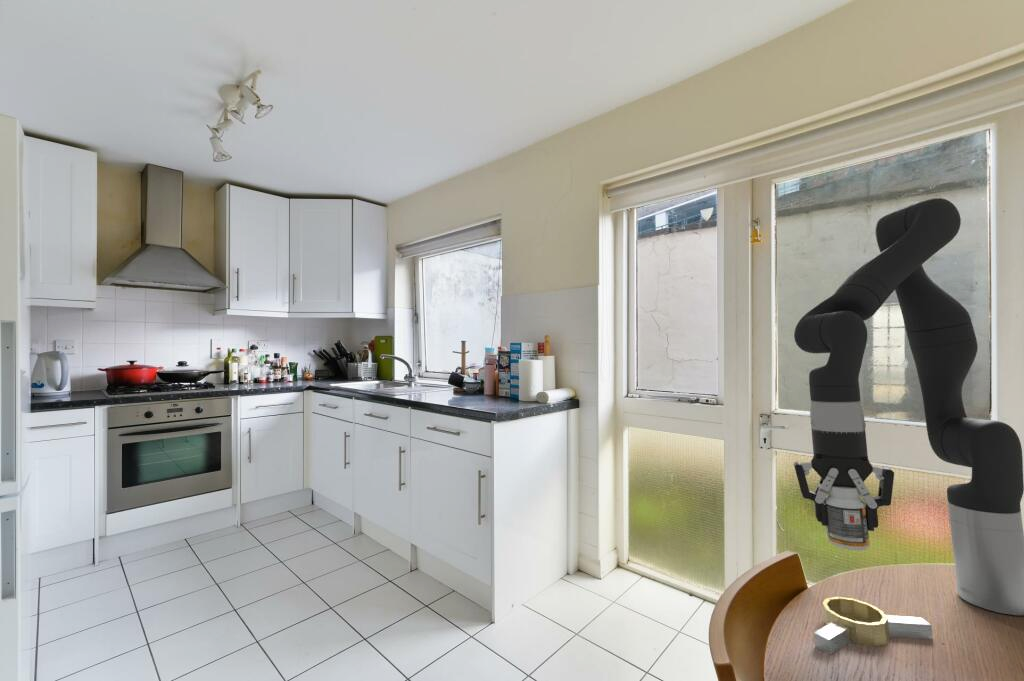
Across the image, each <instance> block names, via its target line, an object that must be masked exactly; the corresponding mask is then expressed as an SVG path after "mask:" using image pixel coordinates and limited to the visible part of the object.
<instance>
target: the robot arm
mask: <svg viewBox="0 0 1024 681" xmlns="http://www.w3.org/2000/svg"><path fill="white" fill-rule="evenodd" d="M960 214H961V213H960V211H959V210H958V207H956V205H955V204H954V203H952V201H950V200H948V199H946V198H943V197H934V198H929V199H924V200H921V201H918V202H915V203H913V204H910V205H907V206H904V207H901V208H899V209H896V210H893V211H890V212H888V213H885V214H883V215H882V216H881V217H880V218H879V219H878V220H877V221H876V225H875V240H876V243H877V247H878V249H879V252H880V253H878V254H876V255H875V256H874V257H872V258H871V259H869V260H868V261H866V262H865V263H864V264H863V263H862V265H861V266H859V267H858V268H857V269H856V270H854V271H853V272H852V273H851V274H849V275H848V277H847V278H846V279H845V280H844V281H843V283H841V285H840V286H839V287H838V288H837V290H836V291H835V292H834V293H833V294H832V295H830V296H829V297H827V298H826V299H824V300H823V301H821V302H820V303H818V304H817V305H816V306H815V307H813V308H812V309H810V310H809V311H808V312H806V313H805V314H804V315H803V316H802V317H801V318H800V319H799V321H798V322H797V324H796V326H795V328H794V335H793V337H794V342H795V344H796V345H797V347H798V348H800V350H802V351H803V352H804V353H805V352H806V353H809V354H829V356H828V359H827V362H826V364H825V365H822V366H818V367H816V368H813V369H811V370H810V371H809V375H808V384H809V396H810V408H809V409H810V411H809V417H810V426H811V427H810V428H811V429H810V430H811V438H812V441H811V442H812V451H813V452H812V453H813V457H812V459H811V460H810V461H808V462H800V461H795V462H794V463H793V467H794V471H795V475H796V478H797V481H798V485H799V490H800V493H801V495H802V498H804V499H806V500H807V499H808V500H810V501H813V503H814V513H815V519H816V520H817V522H818V523H821V526H824V527H826V526H827V518H826V506H825V503H824V500H825V498H826V497H827V496H828V494H829V493H828V492H829V490H830V488H831V486H836V487H849V488H858V490H859V492H860V496H861V498H862V500H863V502H864V503H865V506H866V516H867V525H868V532H869V531H871V532H875V529H877V528H878V527H879V516H878V508H879V507H884V506H885V507H889V506H890V505H891V504H892V498H893V497H892V496H893V490H894V489H893V487H894V480H895V472H894V471H893V470H892V469H891V468H890V467H888V466H878V465H877V466H876V465H872V464H871V462H870V460H869V455H868V446H867V445H868V444H867V435H866V432H867V431H866V426H867V425H866V424H867V423H866V421H865V414H864V410H863V406H862V401H861V392H860V391H861V390H860V388H861V387H860V381H859V378H860V372H861V369H862V364H863V358H864V356H865V355H864V354H865V350H866V346H867V341H868V328H867V325H866V323H865V321H867V320H868V319H870V318H872V317H873V316H874V315H875V314H876V313H877V311H878V310H879V309H880V308H881V307H882V305H883V304H884V303H885V302H886V300H888V298H889V297H891V295H892V293H894V292H895V294H896V297H897V301H898V305H899V308H900V311H901V315H902V319H903V323H904V329H905V333H906V337H907V341H908V345H909V347H910V351H911V355H912V357H913V361H914V364H915V368H916V372H917V376H918V377H917V378H918V382H919V386H920V391H921V396H922V402H923V410H924V418H925V424H926V425H925V426H926V432H927V433H926V434H927V437H928V441H929V445H930V448H931V449H932V452H933V453H934V454H935V455H936V456H937V457H938V458H939V459H940V460H942V461H943V462H946V463H949V464H951V465H952V464H953V465H956V466H962V467H967V468H971V480H970V481H969V482H965V483H957V484H956V483H955V484H951V485H949V486H947V489H946V497H947V498H946V499H947V507H948V515H949V523H950V524H949V526H950V534H951V535H950V536H951V543H952V552H953V561H954V562H953V563H954V572H955V579H956V589H957V596H959V597H960V598H961V599H962V600H964V601H965V602H967V603H969V604H971V605H974V606H976V607H978V608H981V609H985V610H988V611H992V612H995V613H999V614H1004V615H1005V614H1006V615H1011V616H1024V526H1023V520H1022V519H1023V517H1022V511H1021V510H1022V509H1021V508H1022V507H1021V501H1022V499H1023V495H1024V465H1023V464H1024V462H1023V449H1022V444H1021V441H1020V437H1019V436H1018V434H1017V432H1016V430H1015V429H1013V427H1012V426H1011V425H1009V424H1007V423H1006V422H1003V421H999V420H992V419H983V418H972V417H968V416H967V413H966V411H965V407H964V402H963V394H962V391H963V385H964V383H965V380H966V378H967V376H968V374H969V372H970V370H971V368H972V366H973V363H974V361H975V360H976V357H977V354H978V349H979V348H978V347H979V346H978V340H977V337H976V336H977V335H976V332H975V329H974V328H975V327H974V326H973V321H972V318H971V315H970V313H969V311H968V310H967V309H966V308H965V307H964V306H963V305H962V304H961V303H960V302H959V301H958V300H957V299H955V297H953V296H952V295H951V294H950V293H948V292H947V291H945V290H944V289H943V288H941V287H940V286H939V285H938V284H936V283H935V282H934V281H933V280H932V279H931V278H930V277H929V276H928V274H927V272H926V271H925V269H924V267H923V265H924V264H925V262H927V261H928V260H930V258H932V257H933V256H934V255H935V254H936V253H938V252H939V251H940V250H942V249H944V247H945V246H946V245H948V244H949V243H950V242H952V240H954V238H955V237H956V236H957V234H958V233H959V230H960V228H961V222H962V220H961V219H962V218H961V215H960ZM811 469H813V471H815V472H816V473H817V475H818V476H819V477H820V479H819V481H818V483H817V486H816V488H815V489H814V490H815V491H812V490H810V489H809V484H808V482H807V477H806V476H808V475H810V470H811ZM872 473H874V474H875V478H876V479H877V480H878V481H879V482H878V493H877V496H876V495H875V496H873V495H872V494H871V492H870V490H869V489H868V487H867V486H866V484H865V481H867V479H868V477H869V476H870V475H871V474H872Z"/></svg>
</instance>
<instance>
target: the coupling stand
mask: <svg viewBox="0 0 1024 681" xmlns="http://www.w3.org/2000/svg"><path fill="white" fill-rule="evenodd" d="M822 613H823V615H822V617H823V623H824V626H822V627H821V628H819V629H817V630H815V631H814V632H813V638H814V639H813V640H814V647H815V648H816V649H818V650H820V651H822V652H824V651H825V652H824V653H826V652H827V653H826V654H828V653H829V654H828V655H830V654H831V653H833V652H834V653H836V652H837V651H838V649H839V650H840V649H842V648H844V647H845V646H846V645H848V644H849V643H851V642H852V643H854V644H857V645H863V644H864V645H863V646H869V647H878V646H880V647H881V646H885V645H887V644H888V643H889V642H890V639H891V637H895V638H896V637H898V638H911V639H923V640H924V639H925V640H933V639H934V638H933V630H932V624H930V623H929V622H928V621H927V620H926V619H924V618H923V617H921V616H917V617H916V616H908V615H907V616H905V615H891V614H885V613H884V611H883V610H882V609H879V608H878V607H876V606H874V605H872V604H871V603H867V602H865V601H862V600H858V599H856V598H850V597H844V596H843V597H842V596H834V597H833V596H832V597H827V598H825V599H824V600H823V602H822ZM835 651H836V652H835ZM834 653H833V654H834ZM831 655H832V654H831Z"/></svg>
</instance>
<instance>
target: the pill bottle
mask: <svg viewBox="0 0 1024 681" xmlns="http://www.w3.org/2000/svg"><path fill="white" fill-rule="evenodd" d="M827 494H828V495H826V497H825V499H824V503H825V506H826V518H827V526H825V527H826V536H827V541H828V542H829V543H830V544H831V545H833V546H834V547H837V548H841V549H844V550H848V551H849V550H850V551H866V550H868V549H869V548H870V535H869V531H868V525H867V516H866V506H865V505H866V503H865V501H864V500H863V499H861V498H860V496H861V494H860V492H859V490H858V488H849V487H836V486H831V488H830V490H829V492H828V493H827Z"/></svg>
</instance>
